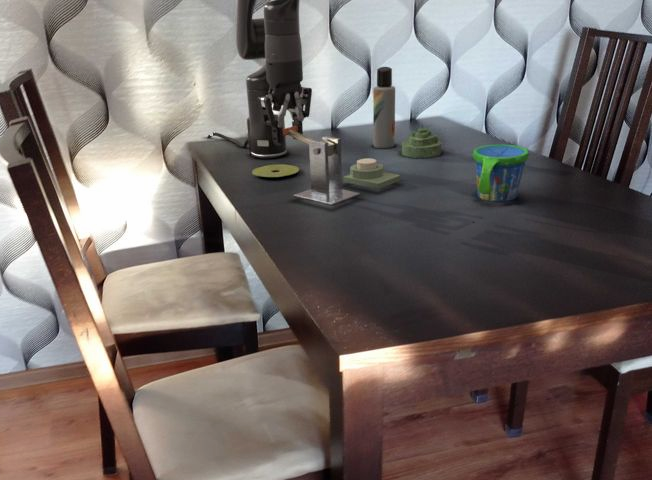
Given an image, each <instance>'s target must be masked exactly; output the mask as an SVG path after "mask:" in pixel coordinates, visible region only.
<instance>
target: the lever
mask: <svg viewBox="0 0 652 480" xmlns="http://www.w3.org/2000/svg"><path fill="white" fill-rule="evenodd" d="M283 136H286V137H287V136H289V137H291V138H293V137H294V138H296V139H298V140H297V141H300V142H302V143H304V144H307V145H309V141H310V140H315V139H313V138H311V137H309V136H307V135H304V133H303V134H300V133H298V127H297V126H293V127H292V126H289V127H285V129H283ZM296 139H295V140H296ZM321 141H322V142H328V157H329V156H332V155H333V151H334V144H333V143H331V142H329V141H326V140H322V139H321Z"/></svg>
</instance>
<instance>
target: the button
mask: <svg viewBox="0 0 652 480" xmlns="http://www.w3.org/2000/svg"><path fill="white" fill-rule="evenodd" d="M356 164H357V169H360V170H372V169H376V168H377V164H378V162H377V159H375V158H360V159H358V160H356Z"/></svg>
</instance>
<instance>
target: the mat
mask: <svg viewBox="0 0 652 480" xmlns="http://www.w3.org/2000/svg"><path fill="white" fill-rule="evenodd" d="M299 171H300V168H299V167H298V166H295V165H292V164H279V163H278V164H269V165H264V166H260V167H256V168H254V169H253V170H252V171H251V173H252V175H253V176H257V177H263V178H280V177H286V176H291V175H294V174H296V173H298V172H299Z"/></svg>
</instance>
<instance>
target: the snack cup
mask: <svg viewBox="0 0 652 480" xmlns="http://www.w3.org/2000/svg"><path fill="white" fill-rule="evenodd" d="M529 154H530V152H529V150H528V149H527V148H526V147H523V146H519V145H513V144H488V145H482V146H479V147H476V148H475V149H474V150H473V153H472V158H473V160H474V163H475V179H476V188H477V193H476V194H477V197H478V198H479V199H481V200H484V201H488V202H508V201H511V200H516V198H517V196H518V192H519V188H520V184H521V181H522V177H523V172H524V168H525V165H526V162H527V160H528V158H529V156H530V155H529Z"/></svg>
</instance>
